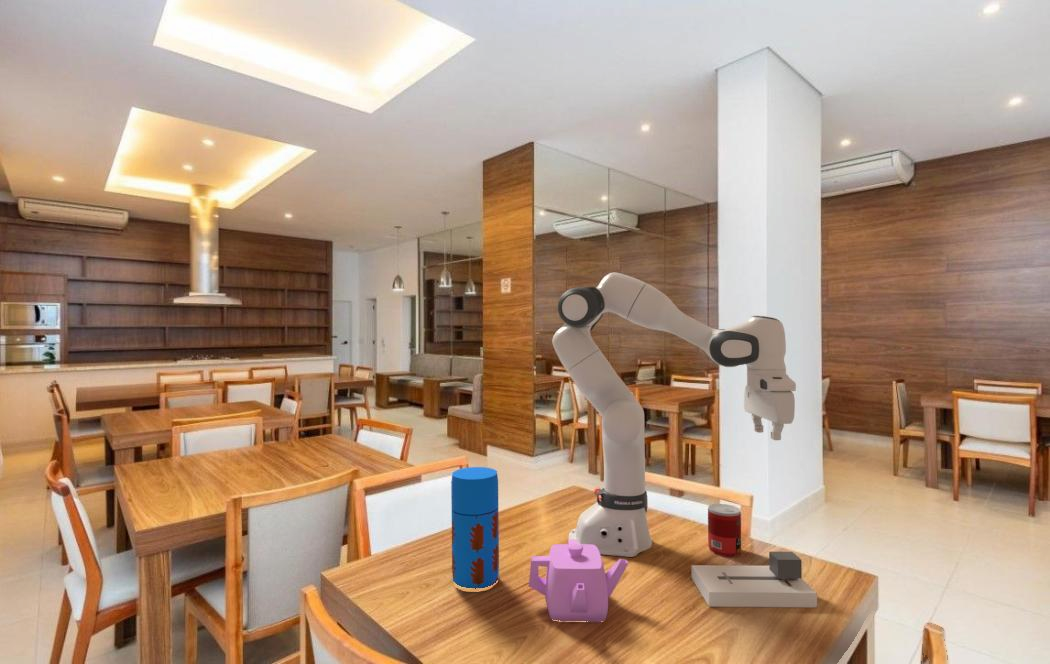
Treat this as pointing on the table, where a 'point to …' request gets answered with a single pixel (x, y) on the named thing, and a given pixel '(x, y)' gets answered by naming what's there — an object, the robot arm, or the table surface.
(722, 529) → the canned food
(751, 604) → the slider panel
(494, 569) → the thermos
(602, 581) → the teakettle
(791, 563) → the block
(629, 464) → the robot arm
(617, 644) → the table surface
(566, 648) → the table surface
